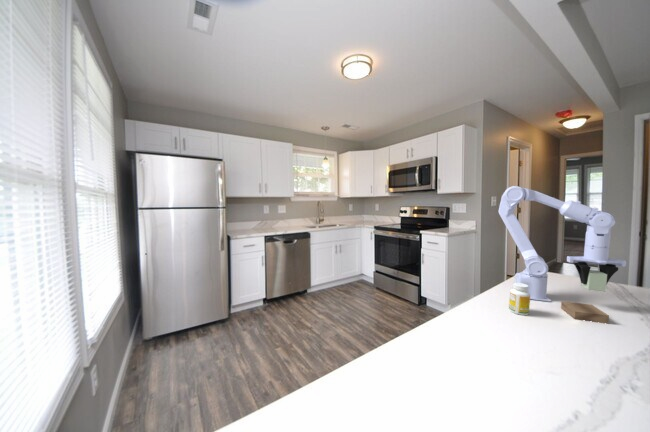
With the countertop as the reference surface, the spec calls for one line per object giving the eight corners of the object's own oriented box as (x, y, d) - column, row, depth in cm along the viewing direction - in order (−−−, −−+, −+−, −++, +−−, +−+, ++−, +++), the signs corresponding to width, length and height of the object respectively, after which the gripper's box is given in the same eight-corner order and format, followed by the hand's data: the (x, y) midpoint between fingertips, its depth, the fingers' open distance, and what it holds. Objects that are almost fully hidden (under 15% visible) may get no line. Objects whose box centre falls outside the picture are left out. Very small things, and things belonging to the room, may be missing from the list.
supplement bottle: (506, 311, 84) (508, 284, 83) (511, 306, 87) (512, 280, 86) (526, 317, 79) (528, 288, 78) (530, 312, 83) (532, 284, 82)
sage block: (588, 289, 84) (590, 273, 84) (580, 285, 88) (582, 269, 88) (605, 291, 83) (607, 274, 82) (596, 287, 87) (598, 270, 86)
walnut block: (574, 320, 78) (575, 311, 78) (560, 309, 85) (561, 301, 85) (608, 325, 75) (609, 315, 75) (591, 313, 83) (591, 304, 82)
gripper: (576, 246, 83) (572, 285, 84) (635, 250, 78) (630, 291, 79) (564, 243, 90) (561, 278, 91) (618, 245, 84) (614, 283, 86)
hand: (593, 284), depth 85 cm, fingers closed on sage block, 4 cm apart
